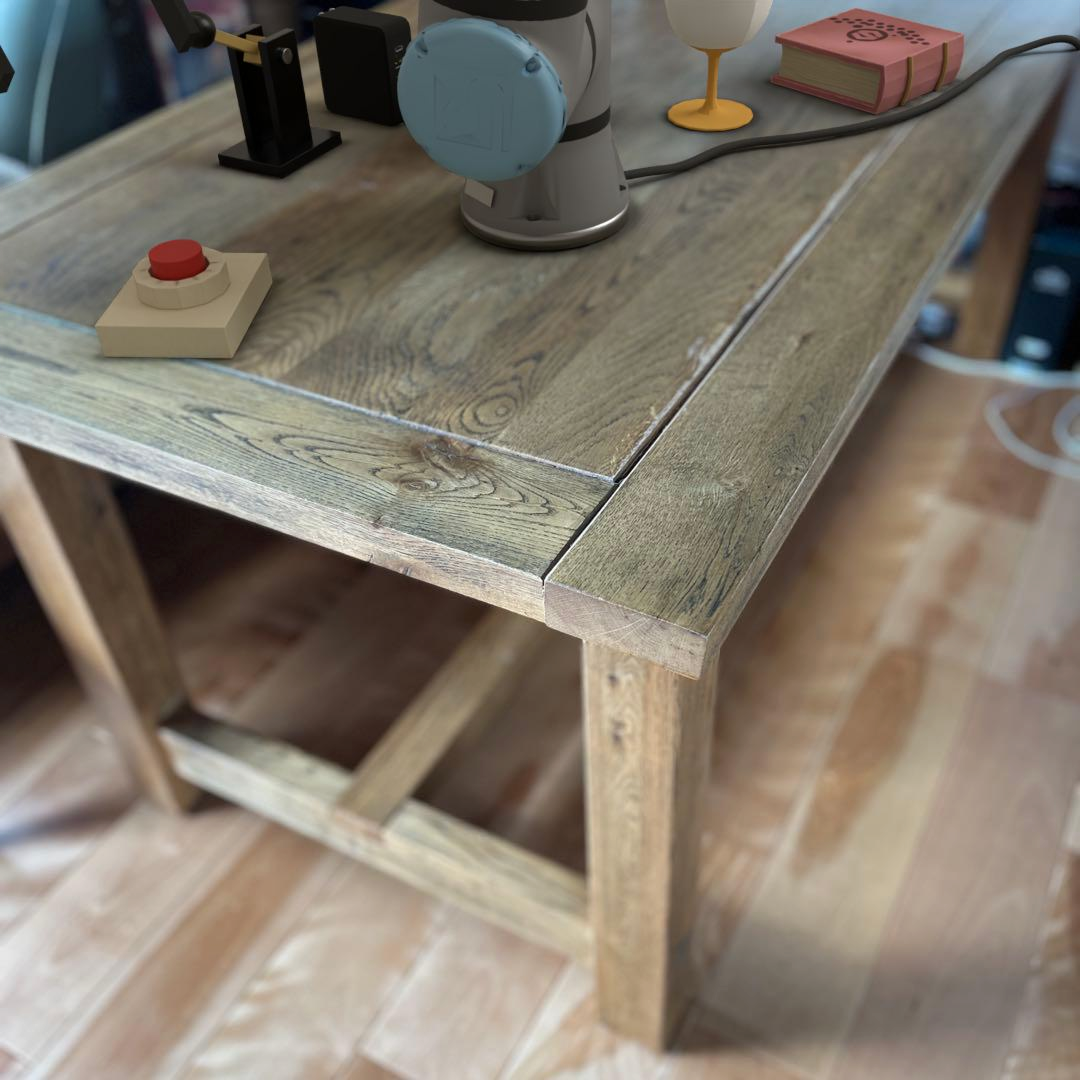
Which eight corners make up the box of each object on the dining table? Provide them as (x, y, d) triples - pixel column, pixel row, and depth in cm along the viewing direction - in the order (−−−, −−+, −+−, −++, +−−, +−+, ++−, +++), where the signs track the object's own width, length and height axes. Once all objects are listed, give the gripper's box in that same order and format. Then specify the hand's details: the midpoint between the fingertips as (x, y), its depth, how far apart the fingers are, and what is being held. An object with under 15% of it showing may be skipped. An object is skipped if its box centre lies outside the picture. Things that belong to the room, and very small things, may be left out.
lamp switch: (282, 178, 109) (259, 53, 101) (219, 165, 112) (192, 42, 104) (342, 143, 115) (324, 22, 108) (281, 131, 118) (260, 13, 111)
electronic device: (395, 127, 118) (383, 28, 112) (325, 110, 123) (310, 14, 116) (419, 115, 121) (409, 17, 114) (350, 99, 125) (337, 4, 119)
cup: (717, 89, 124) (729, -82, 113) (788, 119, 117) (809, -61, 106) (632, 112, 120) (636, -64, 109) (701, 145, 112) (713, -40, 101)
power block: (156, 281, 93) (142, 231, 90) (273, 282, 93) (262, 232, 90) (104, 357, 84) (86, 304, 81) (232, 358, 84) (219, 305, 81)
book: (883, 116, 117) (891, 67, 113) (770, 82, 125) (775, 35, 122) (961, 82, 123) (971, 35, 120) (849, 52, 132) (855, 7, 129)
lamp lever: (196, 46, 98) (200, 7, 97) (169, 42, 99) (172, 3, 98) (283, 75, 108) (287, 40, 107) (257, 70, 109) (261, 36, 109)
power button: (163, 259, 87) (158, 238, 86) (213, 259, 87) (208, 238, 86) (146, 283, 84) (140, 262, 83) (197, 284, 84) (192, 262, 83)
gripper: (96, -219, 82) (237, 53, 85) (-278, -197, 67) (-92, 130, 71) (124, -296, 76) (274, 0, 79) (-281, -289, 61) (-76, 73, 65)
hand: (102, 62), depth 75 cm, fingers open, 13 cm apart
